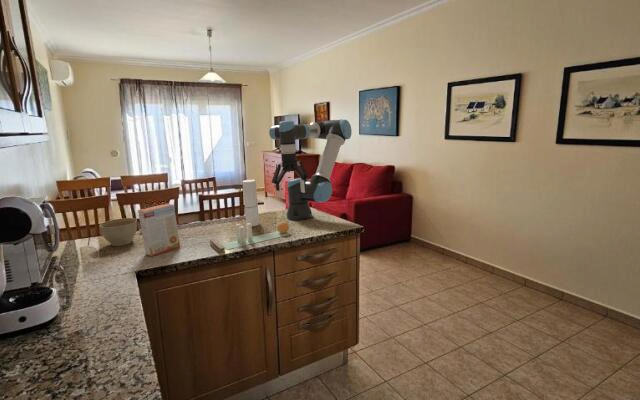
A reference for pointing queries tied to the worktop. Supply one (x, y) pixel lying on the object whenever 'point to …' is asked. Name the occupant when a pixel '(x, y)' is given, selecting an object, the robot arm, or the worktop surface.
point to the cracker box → (159, 229)
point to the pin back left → (242, 235)
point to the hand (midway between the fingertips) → (291, 194)
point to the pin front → (249, 232)
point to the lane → (255, 239)
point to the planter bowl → (119, 231)
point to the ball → (283, 227)
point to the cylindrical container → (250, 202)
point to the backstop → (217, 246)
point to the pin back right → (238, 232)
